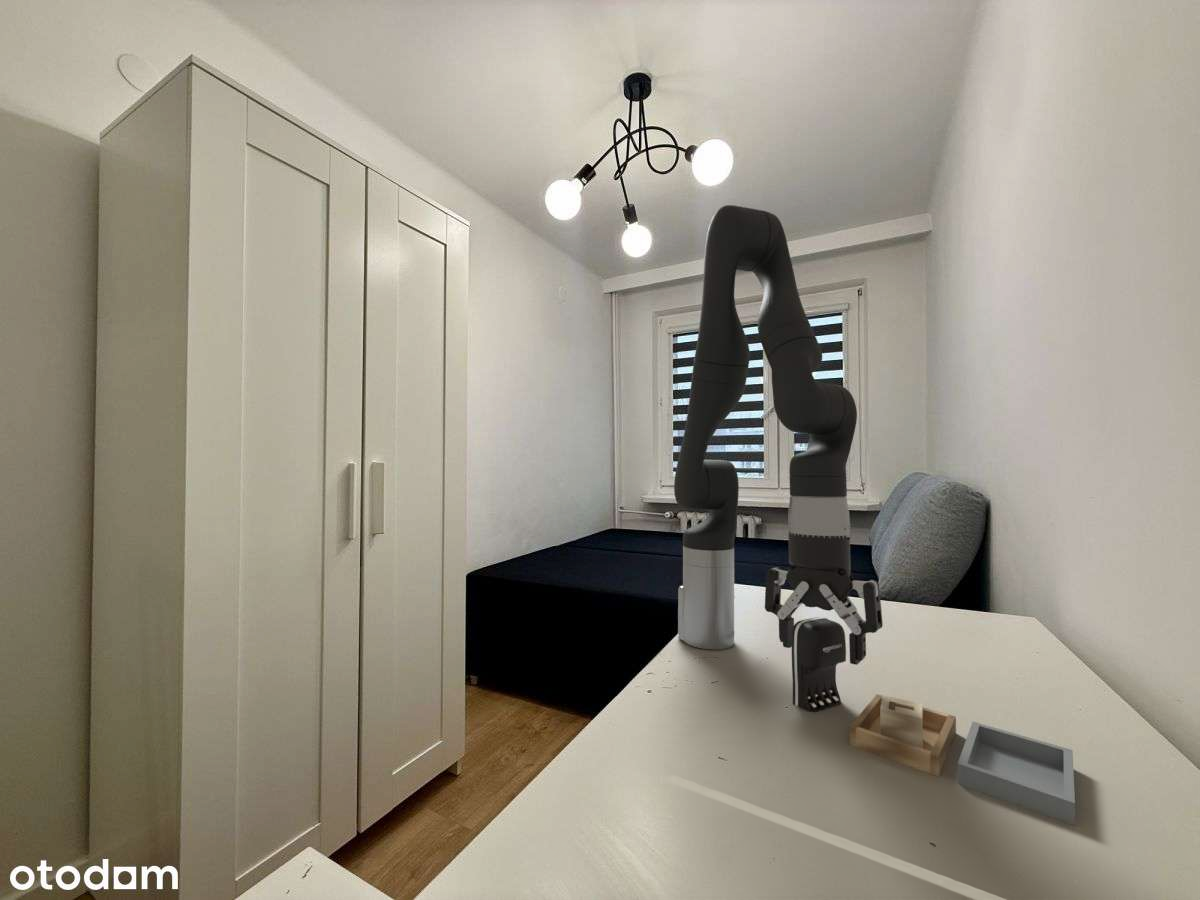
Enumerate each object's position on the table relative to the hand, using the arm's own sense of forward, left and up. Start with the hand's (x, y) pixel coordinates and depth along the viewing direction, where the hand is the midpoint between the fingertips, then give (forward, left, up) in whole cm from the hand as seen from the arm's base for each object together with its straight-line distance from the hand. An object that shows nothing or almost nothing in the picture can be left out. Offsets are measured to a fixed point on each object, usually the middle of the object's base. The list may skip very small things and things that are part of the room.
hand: (820, 654), depth 65 cm
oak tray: (+10, -2, -7) cm, 12 cm away
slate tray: (+20, -2, -7) cm, 21 cm away
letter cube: (+10, -3, -7) cm, 12 cm away
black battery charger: (0, 0, -8) cm, 8 cm away
